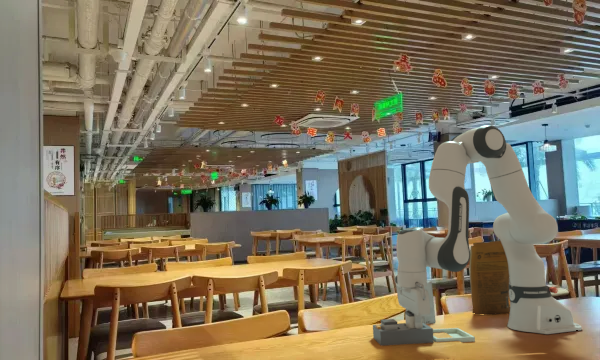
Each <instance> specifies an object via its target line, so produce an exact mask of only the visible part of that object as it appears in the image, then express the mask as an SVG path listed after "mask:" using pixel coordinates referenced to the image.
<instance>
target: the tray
mask: <svg viewBox="0 0 600 360" xmlns="http://www.w3.org/2000/svg"><path fill="white" fill-rule="evenodd" d="M434 333H444V334H445V333H446V334H447V335H449V336H450V337H437V336H436V335H433V340H434V342H435V343H438V342H439V343H440V342H442V343H443V342H445V343H446V342H460V343H469V342H470V343H471V342H476V337H475V336H474V335H472V334H470V333H468V332H466V331H465V330H462V329H460V328H459V327H452V328H449V327H448V328H434V329H433V334H434Z"/></svg>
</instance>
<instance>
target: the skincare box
mask: <svg viewBox="0 0 600 360" xmlns="http://www.w3.org/2000/svg"><path fill="white" fill-rule="evenodd" d="M424 288H425V289H426V290H427V291H428V294H429V300H430V311H431V312H430V316H426V317H422V322H423V323H424V324H426V325H428V324H436V323H437V321H436V313H435V312H436V311H435V302H434V294H433V283H432V281H429V280H427V286H426V287H424Z"/></svg>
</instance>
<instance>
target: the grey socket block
mask: <svg viewBox="0 0 600 360" xmlns="http://www.w3.org/2000/svg"><path fill="white" fill-rule="evenodd" d="M397 325H398V329H390V330H383V329H381V323H380V324H373V325H372V335H373V339H374V340H375V341H376V342H377V343H378V344H379V345H380V346H382V347H383V346H395V345H413V344H415V345H416V344H417V345H418V344H433V343H434V342H435V341H434V340H433V336H434V333H433V328H434V327H433V328H432V327H431V326H429V325H428V324H424V323H423V328H418V329H416V328H408V327H406V322H403V323H402V322H401V323H397Z"/></svg>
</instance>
